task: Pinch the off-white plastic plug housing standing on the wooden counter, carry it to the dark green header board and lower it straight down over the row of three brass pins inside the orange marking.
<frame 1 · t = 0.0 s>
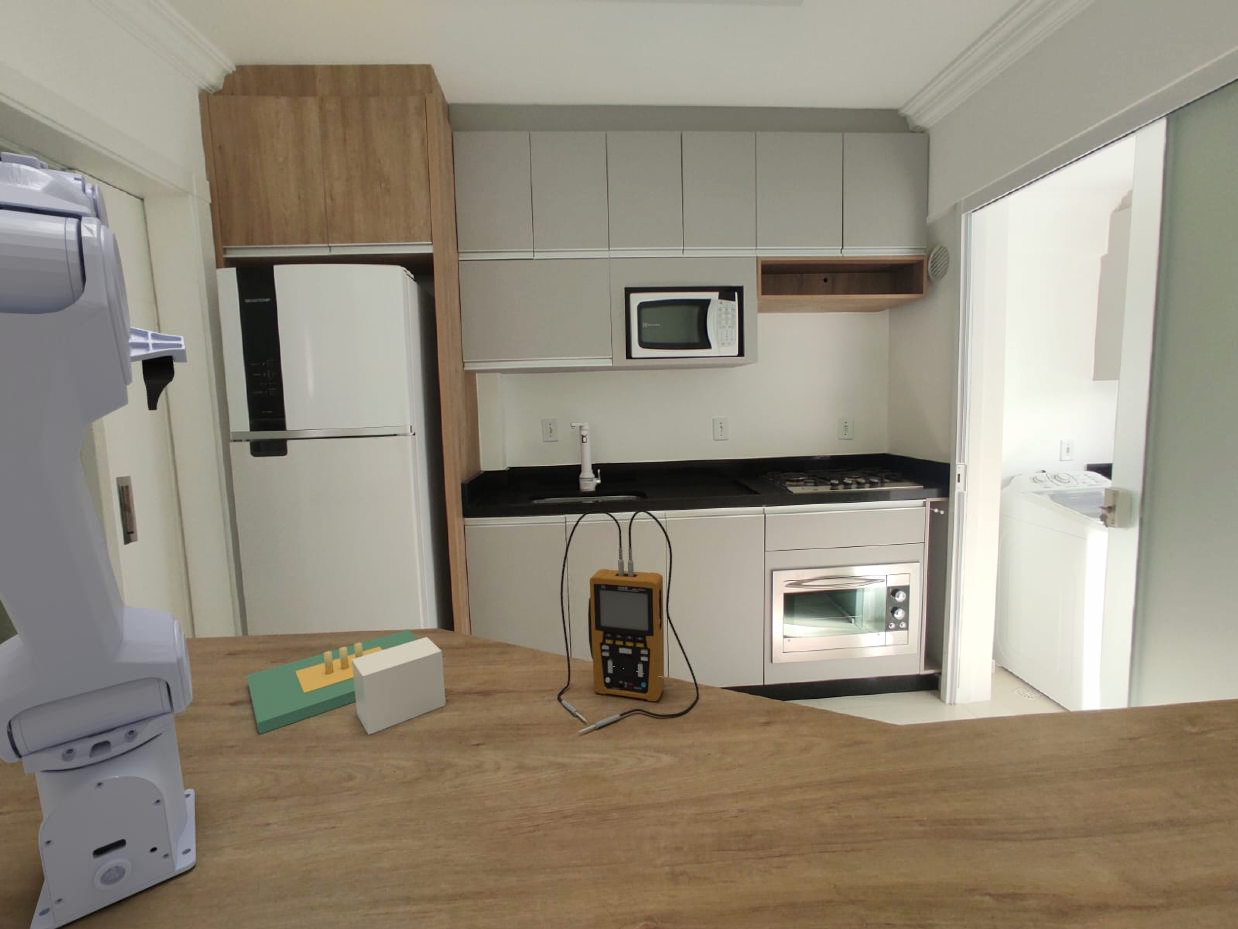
hand: (104, 404, 57), 32 cm above the countertop, tool tilted 50°, fingers open, 7 cm apart
plug housing: (401, 710, 56), on the countertop
header board: (346, 678, 63), on the countertop
multimeter: (620, 713, 55), on the countertop
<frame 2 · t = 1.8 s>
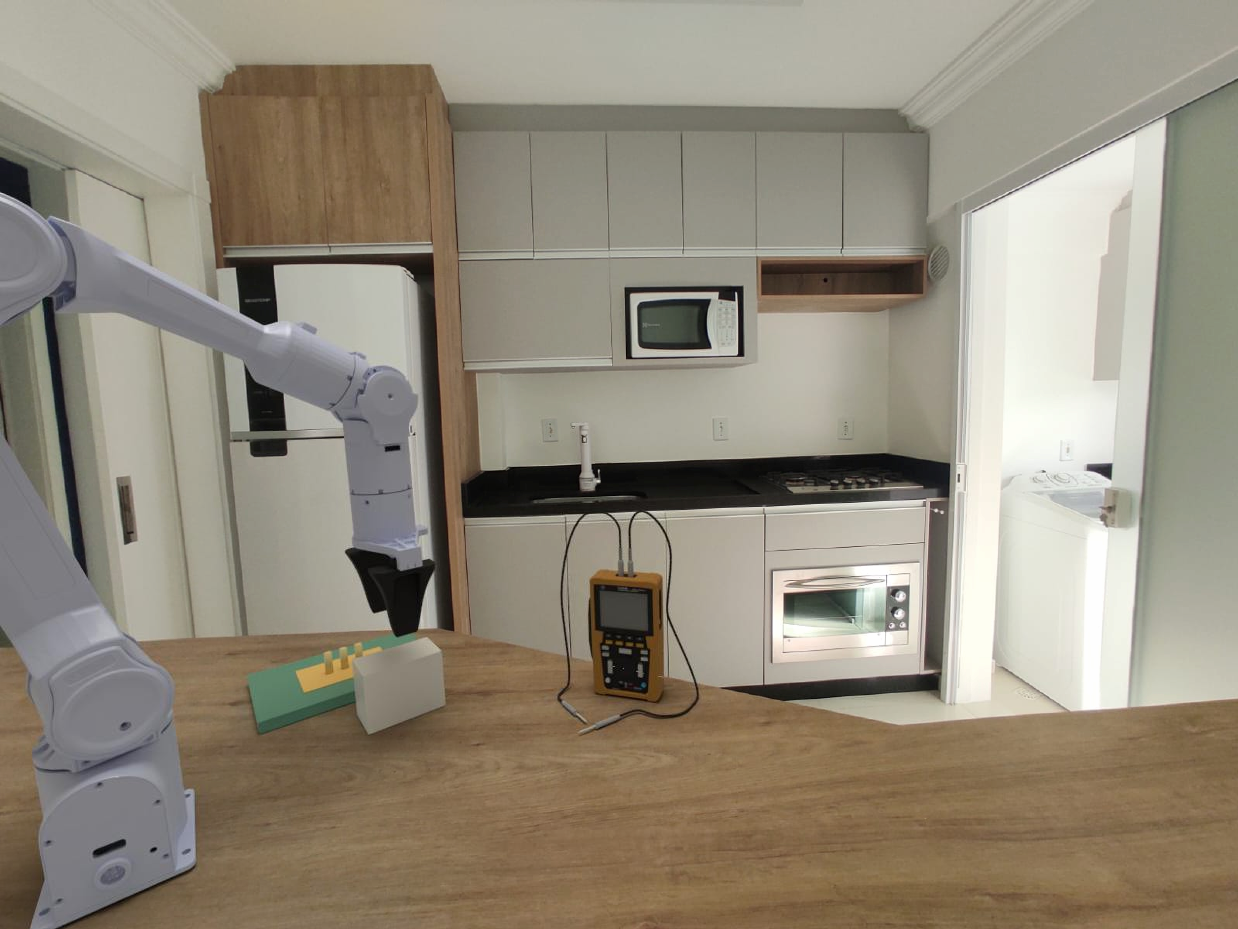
hand: (393, 621, 55), 10 cm above the countertop, tool pointing down, fingers open, 7 cm apart
nothing on the countertop moved.
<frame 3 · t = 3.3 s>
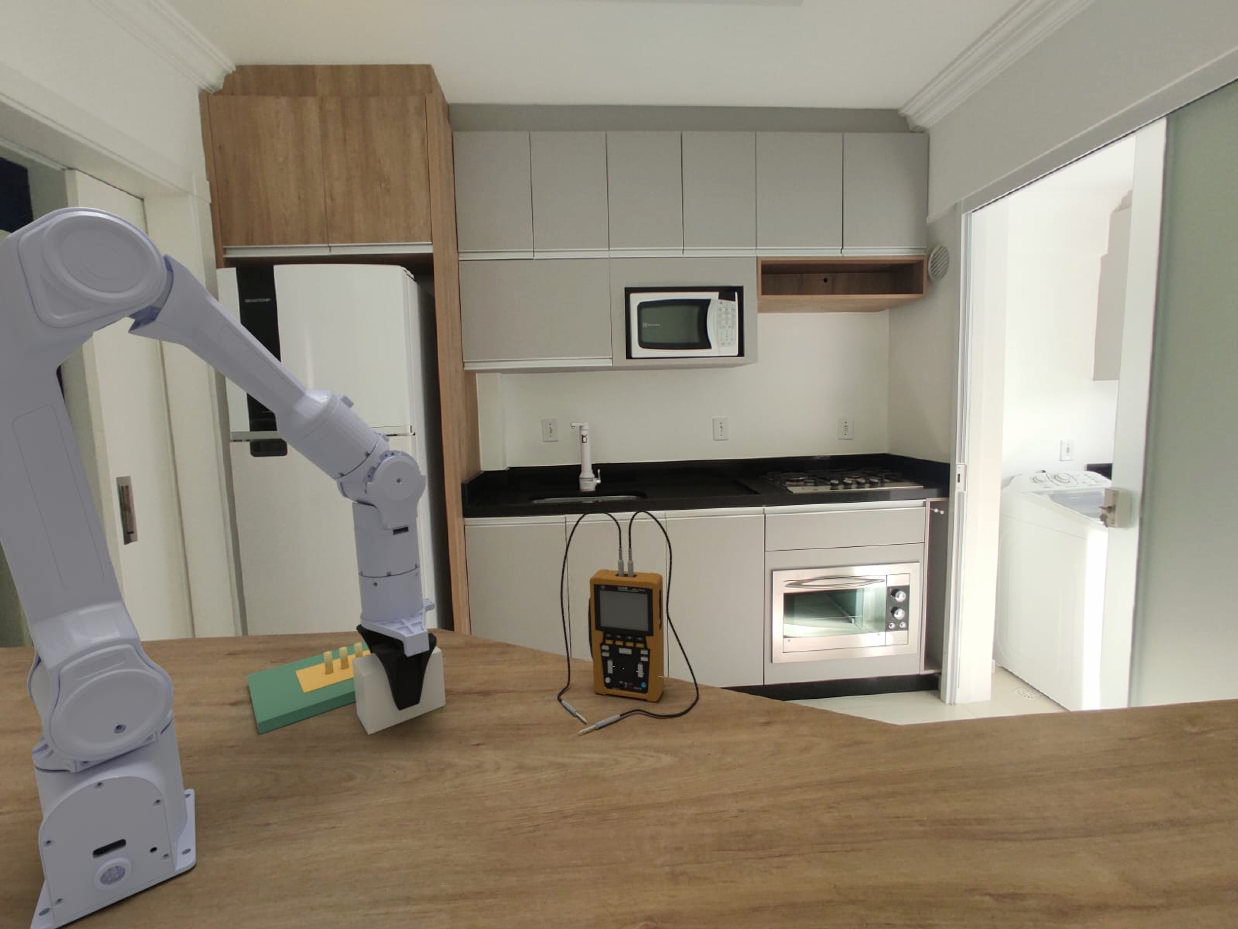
hand: (400, 695, 56), 2 cm above the countertop, tool pointing down, fingers closed on plug housing, 4 cm apart
plug housing: (401, 710, 56), on the countertop, touching gripper
everything else where it was.
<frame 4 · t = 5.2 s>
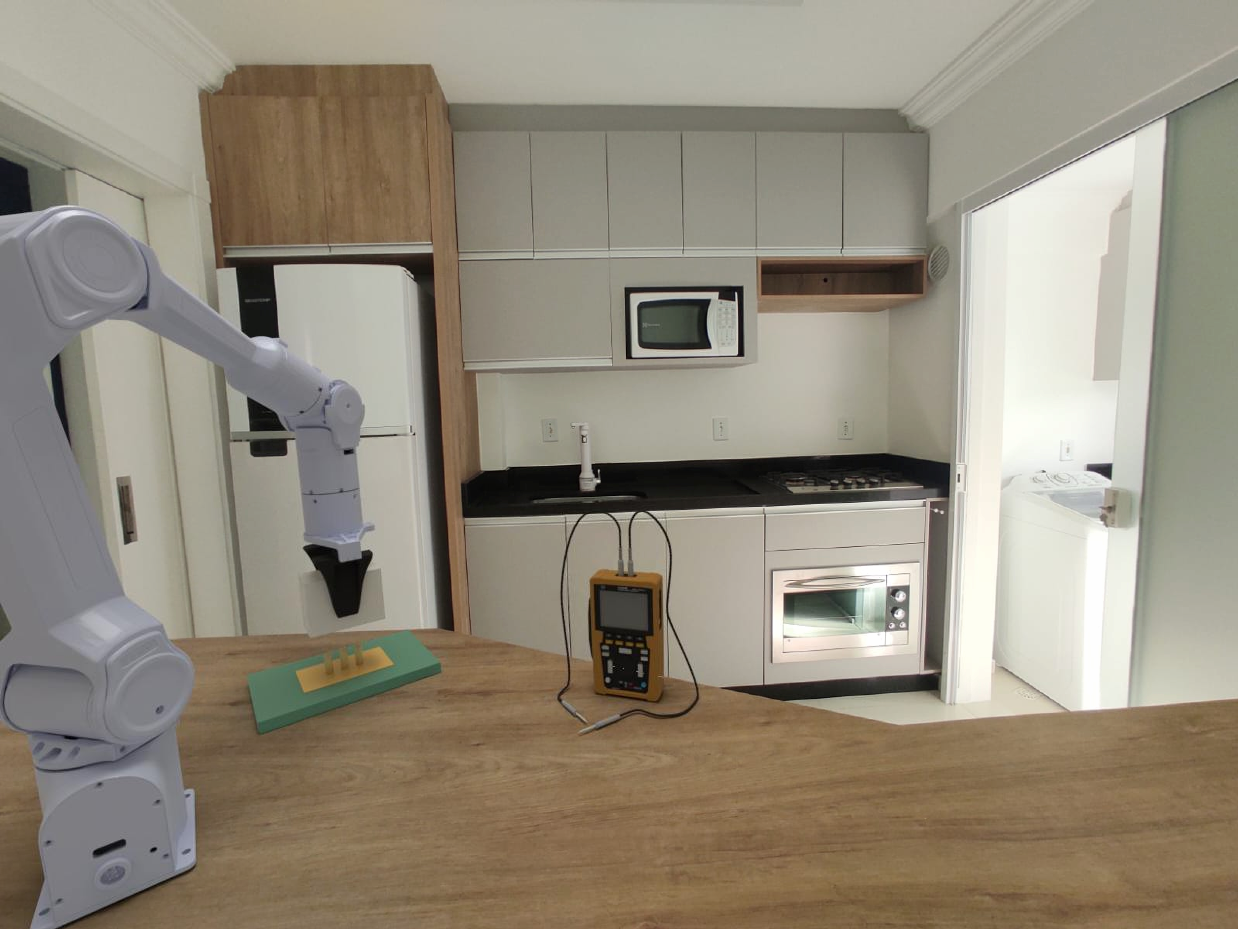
hand: (342, 608, 61), 9 cm above the countertop, tool pointing down, fingers closed on plug housing, 4 cm apart
plug housing: (344, 621, 62), point 7 cm above the countertop, touching gripper
everything else where it was.
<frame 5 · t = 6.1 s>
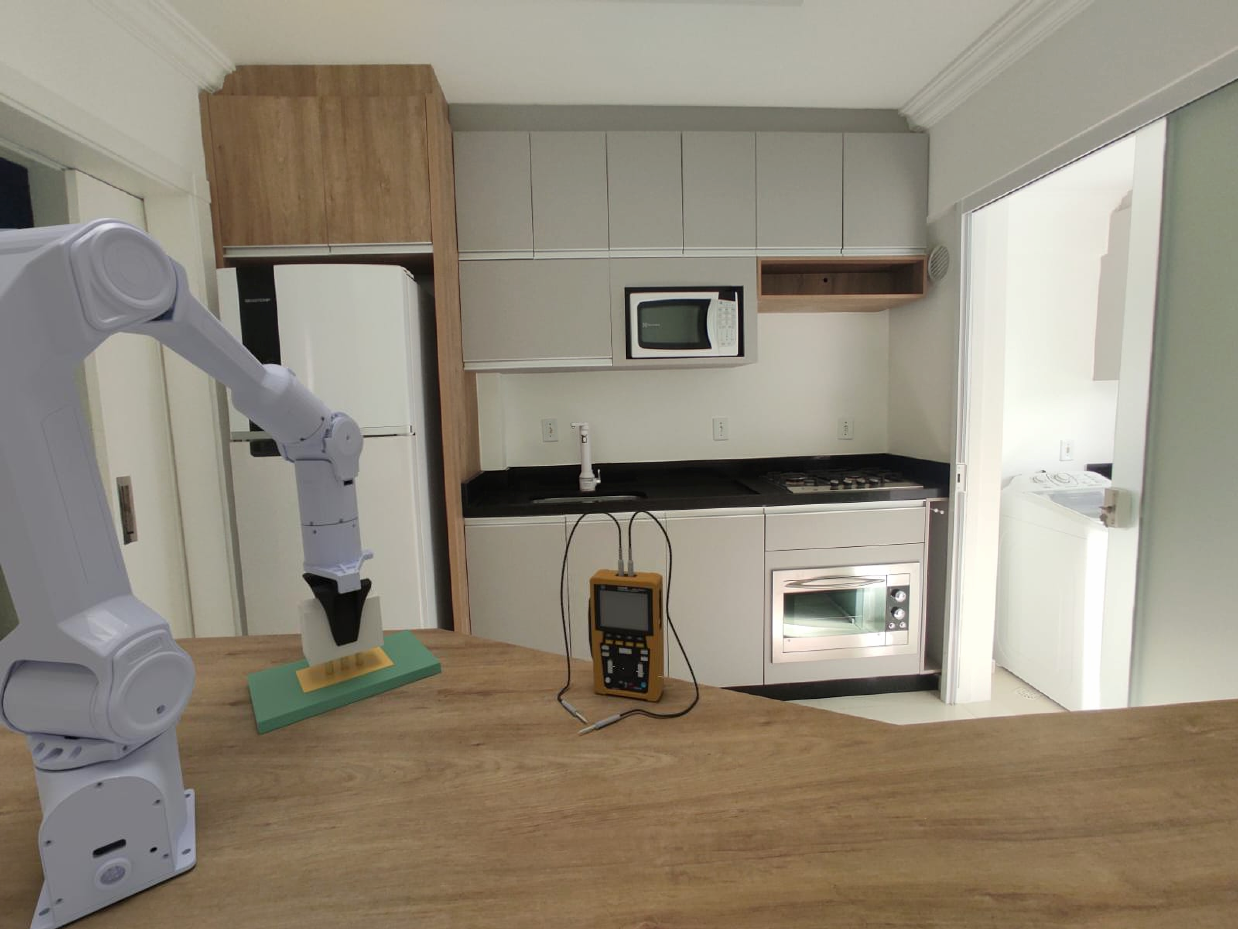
hand: (341, 635, 62), 5 cm above the countertop, tool pointing down, fingers closed on plug housing, 4 cm apart
plug housing: (343, 648, 63), point 4 cm above the countertop, touching gripper
everything else where it was.
when the fingers open (3 cm above the countertop, at t = 7.0 s): plug housing stays where it is, resting on header board.
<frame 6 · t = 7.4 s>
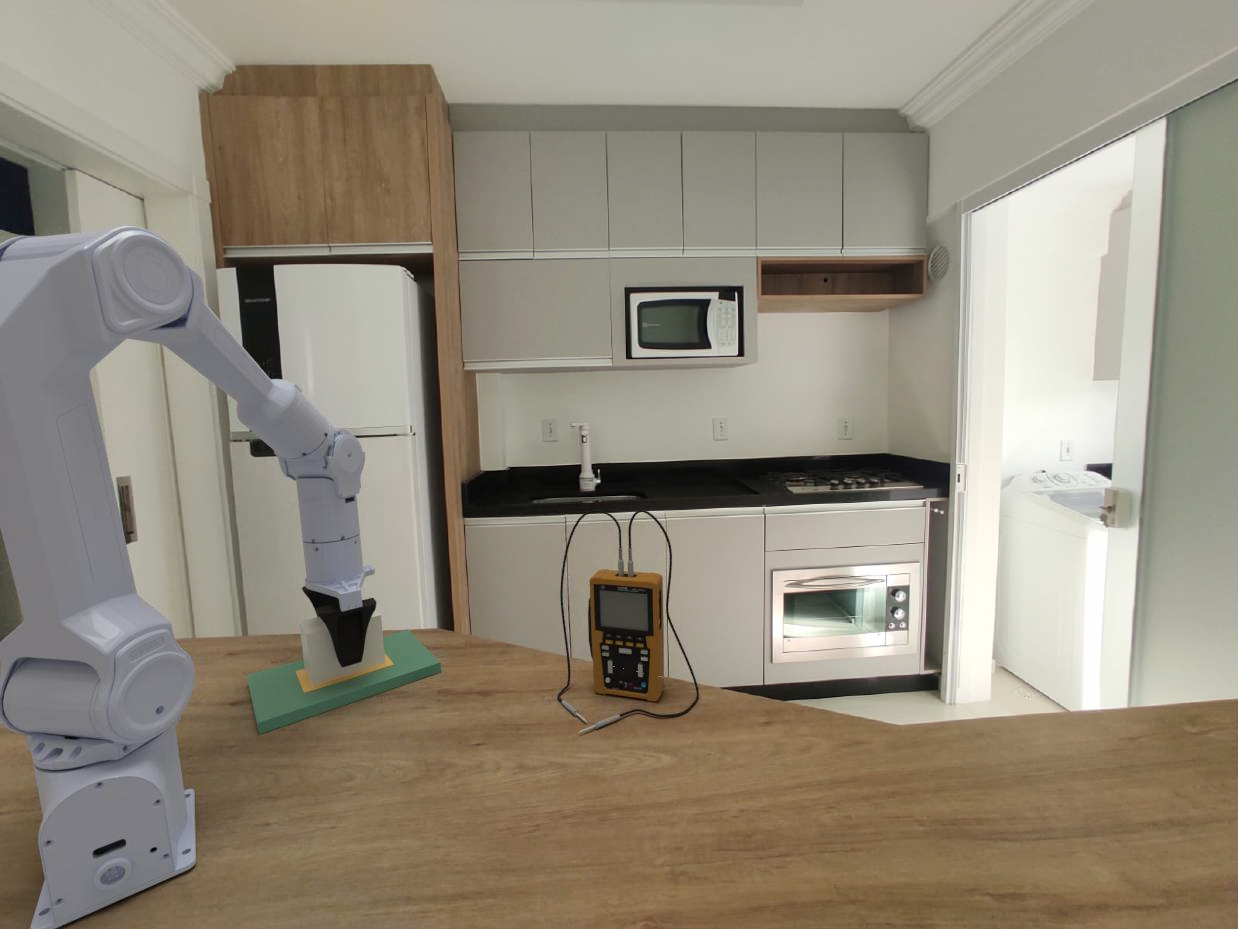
hand: (343, 651, 63), 3 cm above the countertop, tool pointing down, fingers open, 7 cm apart
plug housing: (345, 667, 63), point 1 cm above the countertop, touching header board
everything else where it was.
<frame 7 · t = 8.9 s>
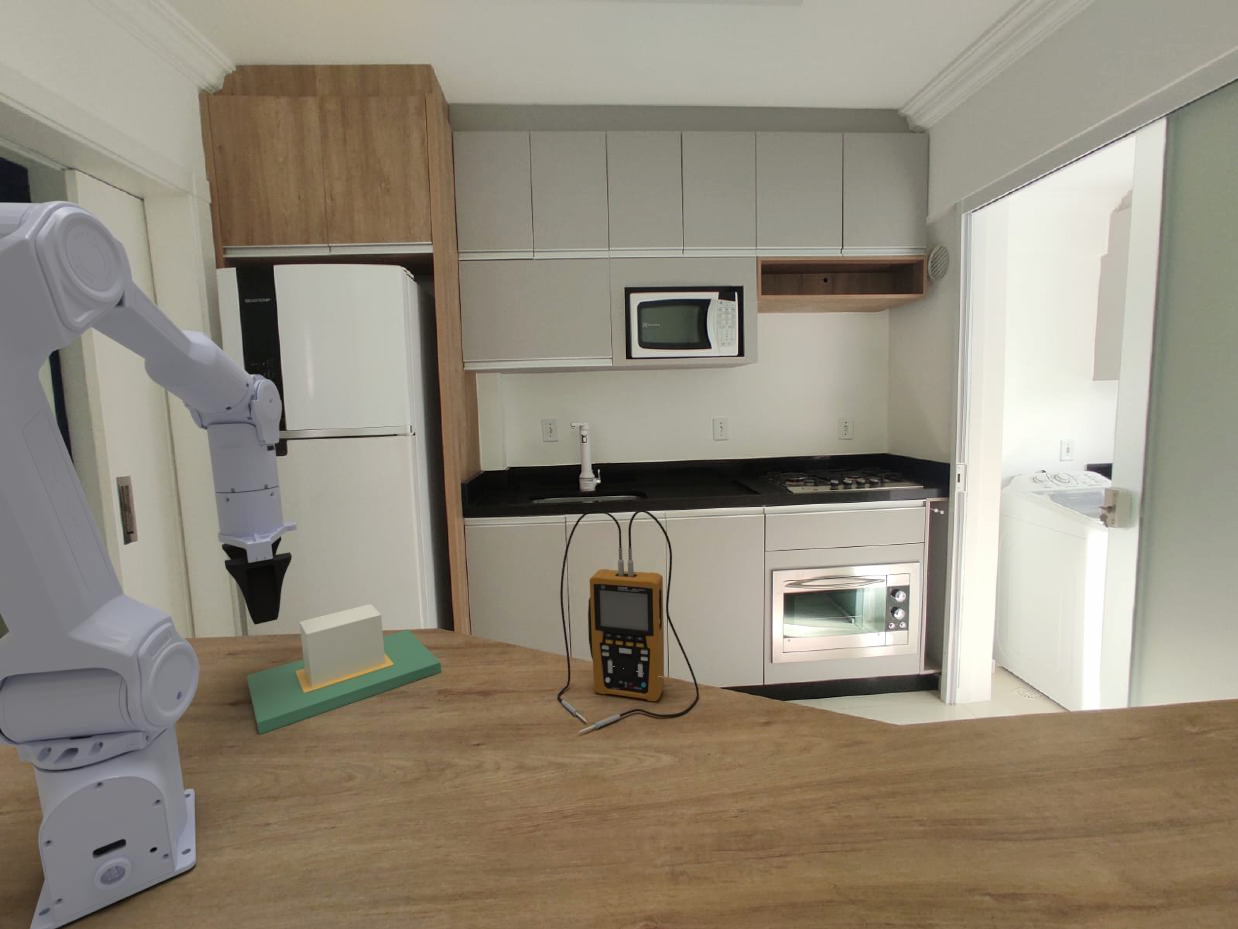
hand: (262, 610, 60), 9 cm above the countertop, tool pointing down, fingers open, 7 cm apart
nothing on the countertop moved.
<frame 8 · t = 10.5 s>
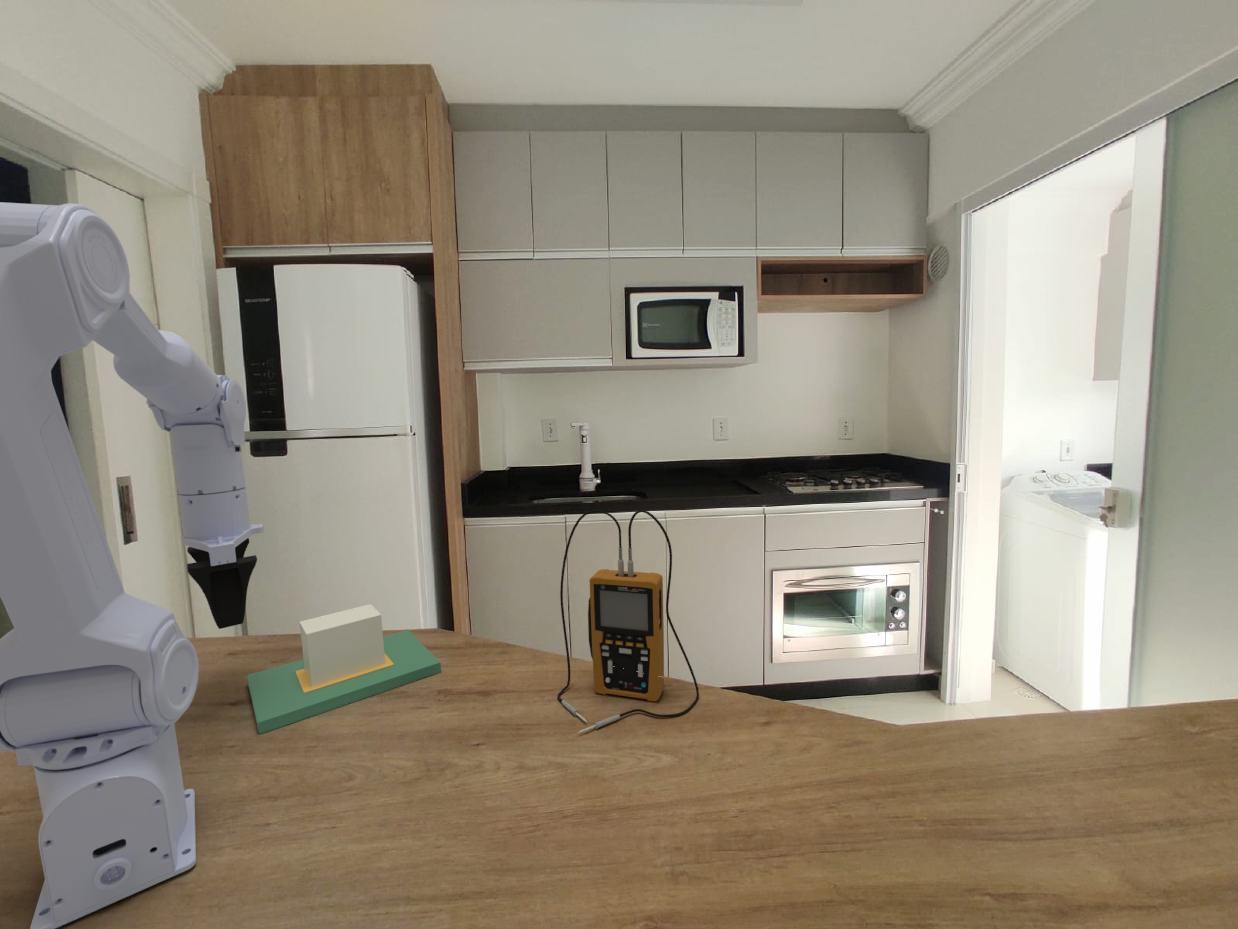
hand: (228, 614, 59), 9 cm above the countertop, tool pointing down, fingers open, 7 cm apart
nothing on the countertop moved.
at the end: plug housing 0.1 cm off-centre on the header board, point 1.3 cm above the header board's base; plug housing tilted 0°; the gripper is holding nothing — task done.
